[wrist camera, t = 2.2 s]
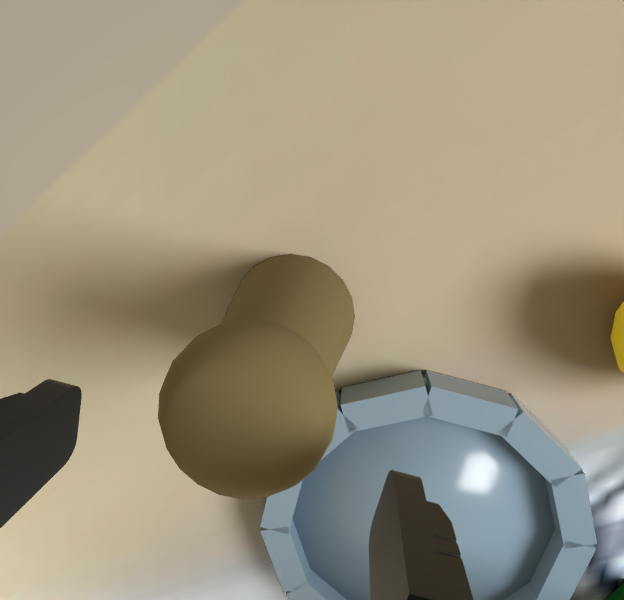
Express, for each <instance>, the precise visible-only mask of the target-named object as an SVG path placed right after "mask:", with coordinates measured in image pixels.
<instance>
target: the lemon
mask: <svg viewBox="0 0 624 600" xmlns="http://www.w3.org/2000/svg"><path fill="white" fill-rule="evenodd" d="M611 342H612V346H613V349H614V353H615V357H616V360H617V364H618V368H619V369H620V370H621V371H622V372H623V373H624V301H623V303H622V304H621V305H620V307H619V308H618V309H617V311H616V313H615V318H614V323H613V328H612V333H611Z"/></svg>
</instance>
